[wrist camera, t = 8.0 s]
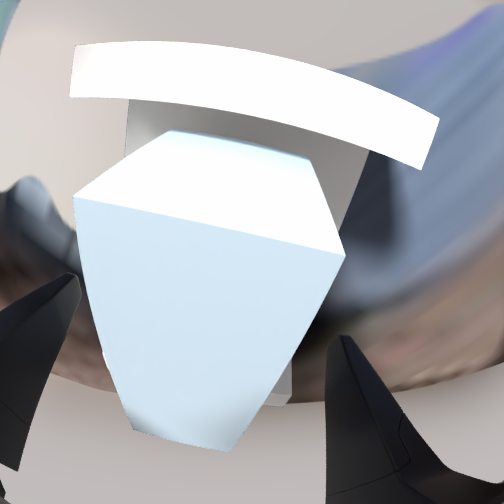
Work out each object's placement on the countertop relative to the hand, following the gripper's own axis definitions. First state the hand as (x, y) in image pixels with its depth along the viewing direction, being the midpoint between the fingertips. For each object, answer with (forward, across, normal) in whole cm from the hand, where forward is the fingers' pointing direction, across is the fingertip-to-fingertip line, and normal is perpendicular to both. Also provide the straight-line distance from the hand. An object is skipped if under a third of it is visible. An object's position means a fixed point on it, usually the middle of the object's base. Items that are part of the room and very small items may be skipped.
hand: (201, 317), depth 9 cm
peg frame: (+6, 0, 0) cm, 6 cm away
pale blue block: (+2, 0, 0) cm, 2 cm away
